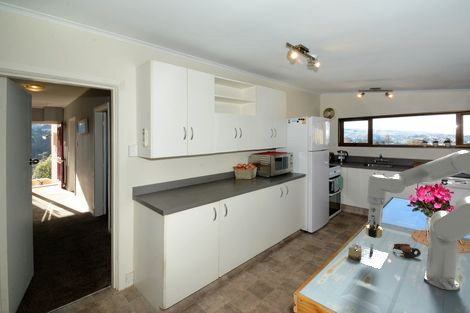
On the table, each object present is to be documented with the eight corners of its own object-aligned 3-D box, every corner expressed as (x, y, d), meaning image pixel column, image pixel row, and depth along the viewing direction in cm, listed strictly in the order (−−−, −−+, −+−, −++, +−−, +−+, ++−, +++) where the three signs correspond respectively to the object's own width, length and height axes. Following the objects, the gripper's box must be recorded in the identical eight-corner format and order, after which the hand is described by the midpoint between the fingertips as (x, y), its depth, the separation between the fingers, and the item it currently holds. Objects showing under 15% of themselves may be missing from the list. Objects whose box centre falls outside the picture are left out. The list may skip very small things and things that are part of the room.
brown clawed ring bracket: (394, 259, 124) (390, 243, 128) (396, 260, 131) (392, 245, 134) (422, 260, 117) (418, 243, 121) (423, 262, 124) (419, 245, 128)
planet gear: (380, 239, 114) (380, 231, 114) (364, 235, 119) (364, 227, 118) (383, 234, 119) (383, 227, 119) (367, 230, 124) (368, 223, 124)
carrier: (379, 272, 112) (380, 258, 111) (344, 259, 123) (344, 247, 122) (388, 256, 126) (389, 244, 126) (356, 246, 137) (356, 235, 137)
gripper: (381, 205, 108) (378, 242, 110) (387, 197, 121) (385, 231, 123) (363, 202, 113) (361, 238, 115) (371, 195, 126) (369, 227, 128)
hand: (373, 234), depth 119 cm, fingers closed on planet gear, 7 cm apart
